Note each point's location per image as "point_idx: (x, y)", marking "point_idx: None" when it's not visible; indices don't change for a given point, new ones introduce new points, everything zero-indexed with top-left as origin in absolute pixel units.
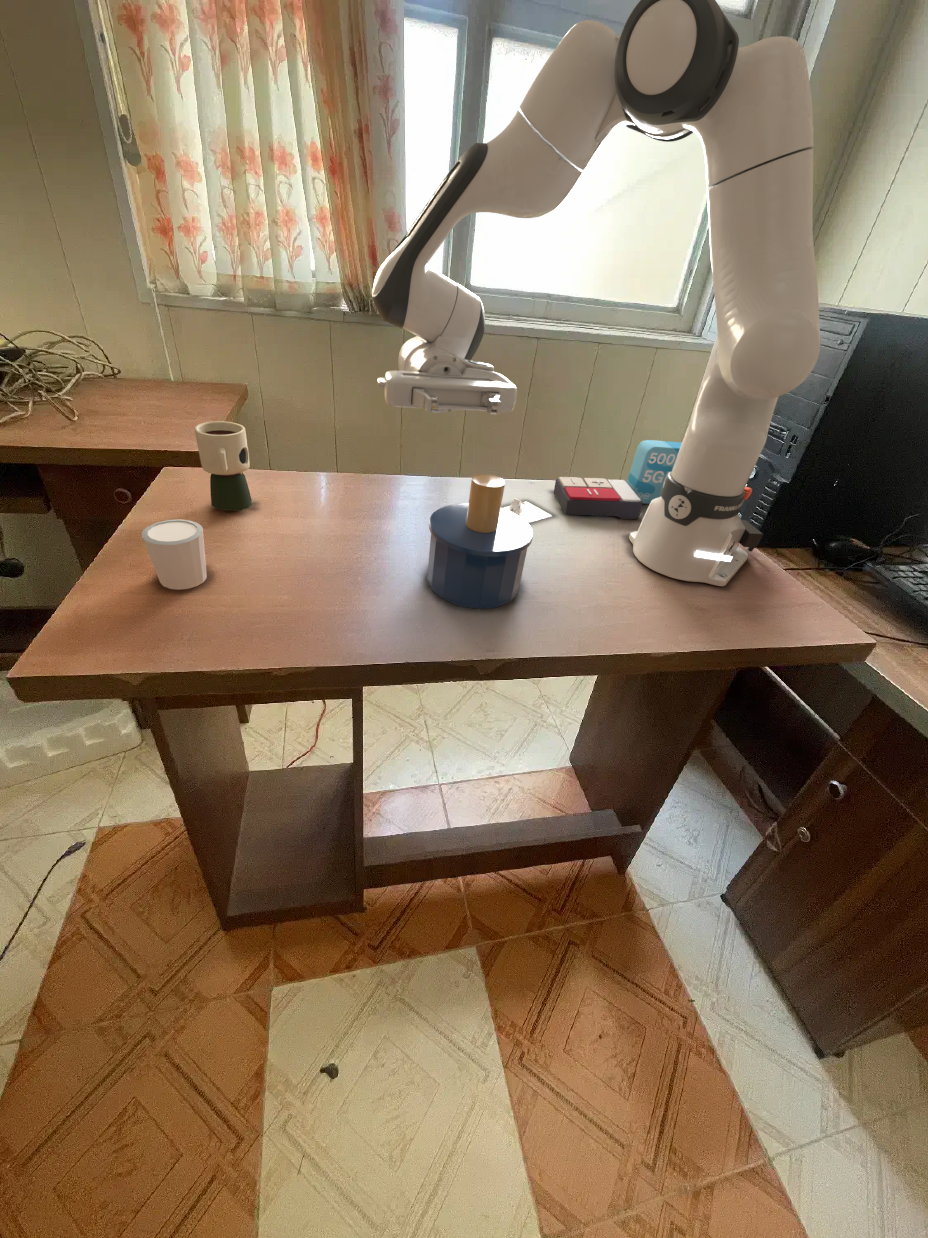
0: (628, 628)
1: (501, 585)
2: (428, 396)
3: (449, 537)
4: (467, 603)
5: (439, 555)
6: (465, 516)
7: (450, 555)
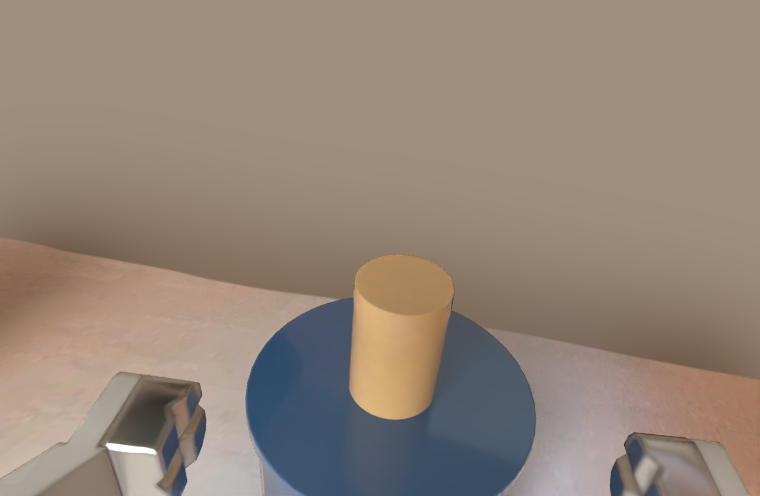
0: (173, 308)
1: None
2: (727, 482)
3: (495, 354)
4: None
5: None
6: (419, 434)
7: None
